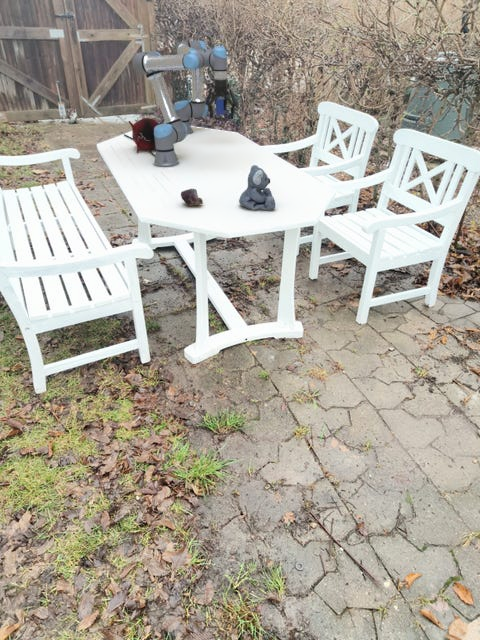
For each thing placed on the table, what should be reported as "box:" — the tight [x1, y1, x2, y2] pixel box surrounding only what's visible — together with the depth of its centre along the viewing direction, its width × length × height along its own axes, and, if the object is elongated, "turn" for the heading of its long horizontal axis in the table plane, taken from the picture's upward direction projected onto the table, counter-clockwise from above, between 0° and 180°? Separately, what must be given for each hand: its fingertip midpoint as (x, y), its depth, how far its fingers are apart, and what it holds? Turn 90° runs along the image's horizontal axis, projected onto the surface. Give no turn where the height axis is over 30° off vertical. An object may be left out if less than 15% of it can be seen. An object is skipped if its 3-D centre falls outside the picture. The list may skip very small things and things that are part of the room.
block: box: [215, 97, 227, 115], centre depth 318 cm, size 7×5×10 cm
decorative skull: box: [128, 117, 161, 154], centre depth 321 cm, size 21×24×25 cm
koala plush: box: [238, 164, 276, 211], centre depth 224 cm, size 17×18×20 cm
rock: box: [180, 188, 204, 207], centre depth 229 cm, size 12×9×10 cm
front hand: (221, 118), depth 276 cm, fingers open, 13 cm apart
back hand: (221, 109), depth 319 cm, fingers closed on block, 5 cm apart
